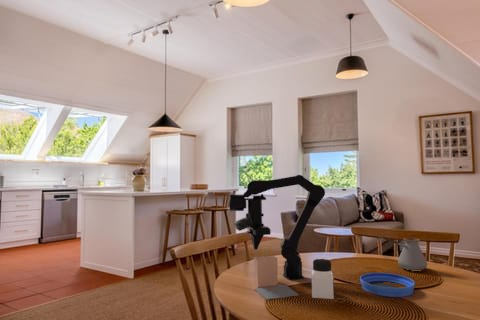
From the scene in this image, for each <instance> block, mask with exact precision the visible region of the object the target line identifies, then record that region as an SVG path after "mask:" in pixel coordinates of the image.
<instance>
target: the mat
mask: <svg viewBox="0 0 480 320" xmlns="http://www.w3.org/2000/svg"><path fill="white" fill-rule="evenodd" d="M254 290H255V292H257V293H258V295H260V296H261V297H262V298H263V299H264V300H266V301H271V300H277V299H278V298H279V299H285V297H286V298H291V297H292V296H294V297H299V296H300V294H299V293H298V292H296V291H294V290H293V289H292V288H290V287H289V286H288V285H286V284H281V285H274V286H266V287H255V288H254ZM290 296H291V297H290ZM270 299H271V300H270Z"/></svg>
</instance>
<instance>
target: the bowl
mask: <svg viewBox="0 0 480 320" xmlns="http://www.w3.org/2000/svg"><path fill="white" fill-rule="evenodd" d="M359 281H360V284H361V288H362V289H363V291H366V292H367V293H369V294H373V295H377V296H382V297H387V296H388V297H390V298H403V297H404V298H405V297H408V296H411V295H412V294H413V293H414V289H415V285H416V284H415V281H414V280H413V279H411V278H410V277H407V276H404V275H400V274H397V273H389V272H369V273H364V274H362V275H360V277H359ZM381 282H391V283H397V284H401V285H404V286H406V287H403V288H399V287H396V286H392V285H391V284H384V283H381Z"/></svg>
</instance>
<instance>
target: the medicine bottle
mask: <svg viewBox="0 0 480 320" xmlns="http://www.w3.org/2000/svg"><path fill="white" fill-rule="evenodd" d="M334 281H335V278H334V273H333V272H332V262H331V260H330V259H327V258H316V259H313V261H312V271H311V297H312V298H313V299H326V300H334V299H335V282H334Z"/></svg>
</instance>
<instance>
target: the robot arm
mask: <svg viewBox="0 0 480 320" xmlns="http://www.w3.org/2000/svg"><path fill="white" fill-rule="evenodd" d="M297 185H298V186H300V187H301V188H302V189H304V190H305V191H307V195H306V200H305V202H304V206H303V208H302V210H301V212H300V214H299V215H298V218H297V220H296V223H295V224H294V227H293V228H292V230H291V232H290V234H289V235H288V236H286V235H284V236H283V239H282V242H281V243H280V245H279V246H280V253H281V256H282V257H283V259H285V260H284V264H283V273H282V276H284V277H285V278H287V279H288V280H298V279H299V280H301V279H304V278H305V276H304V275H303V261H302V258H301V255H300V253H299V252H298V251H297V250H298V246H299V243H300V242H299V241H300V239H301V237H302V234H303V232H304V231H305V229H306V227H307V224H308V223H309V220H310V218H311V216H312V214H313V212H314V210H315V208H316V207H317V206H318V205H319V204H320V203H321V201H322V200H323V199H324V197H325V195H326V191H325V188H324V187H323V186H322V185H320V184H315V183H313V182H312V181H310V180H308V179H307V178H305V176H303V175H301V174H297V175H294V176H288V177H281V178H276V179H275V178H274V179H265V180H261V179H260V180H259V179H258V180H257V179H256V180H255V179H254V180H251V181H249V182H248V184H247V185H246V188H247V189H246V191H245V192H243V194H230V197H229V207H228V208H229V211H230V212H243V211H245V209H247V213H245V217H242V218H240V219H238V220H236V221H234V222H233V223H234V226H235V228H236V230H238V231H243V230H245V229H247V231H245V233H247V234H248V235H249V236H250V239H251V240H250V241H251V243H252V247H253V250H254V251H255V250H258V248H259V246H260V244H261V241H262V239H263V237H264V236H265V235H266V236H269V235H271V233H272V232H271V228H269V226H266V225H265V223H263V217H264V215H265V213H263V204H262V201H266V200H267V197H266V196H264V194H263V193H265V192H266V191H270V190H274V189H280V188H287V187H292V186H297ZM259 194H260V195H259ZM250 196H252V197H251V198H249V197H250Z"/></svg>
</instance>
